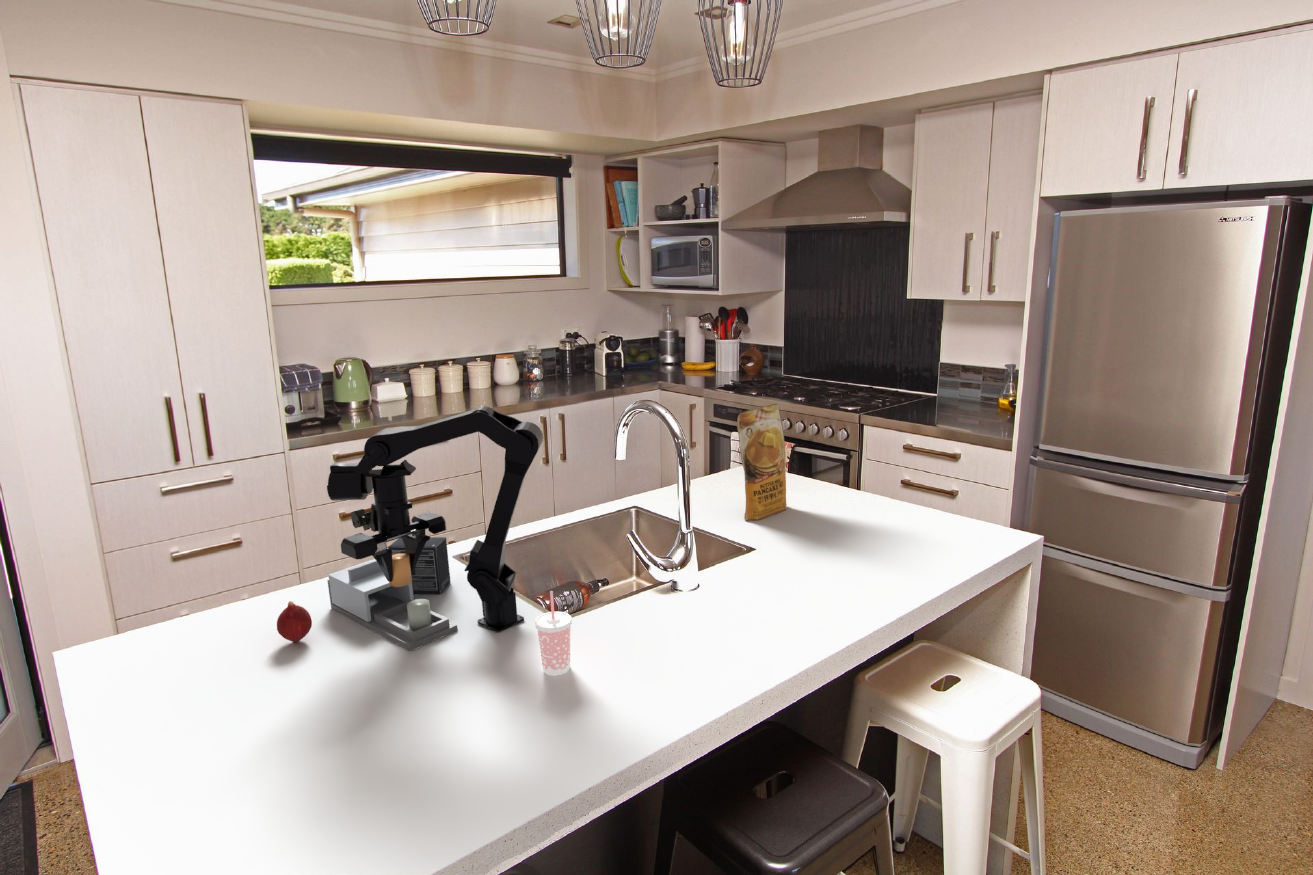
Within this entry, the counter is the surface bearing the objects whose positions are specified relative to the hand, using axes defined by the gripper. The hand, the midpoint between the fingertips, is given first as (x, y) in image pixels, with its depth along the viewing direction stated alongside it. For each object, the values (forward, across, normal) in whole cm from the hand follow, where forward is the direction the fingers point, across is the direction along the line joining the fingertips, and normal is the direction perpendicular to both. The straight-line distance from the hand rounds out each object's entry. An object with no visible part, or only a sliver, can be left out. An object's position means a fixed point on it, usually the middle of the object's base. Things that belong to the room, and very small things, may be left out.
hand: (400, 577), depth 148 cm
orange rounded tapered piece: (+1, 0, 0) cm, 1 cm away
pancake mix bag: (+10, -94, +20) cm, 96 cm away
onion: (+10, +16, -10) cm, 22 cm away
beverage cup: (+10, -7, +35) cm, 37 cm away
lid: (+9, 0, -11) cm, 14 cm away
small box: (+10, -12, -12) cm, 20 cm away
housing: (+10, 0, -4) cm, 11 cm away
